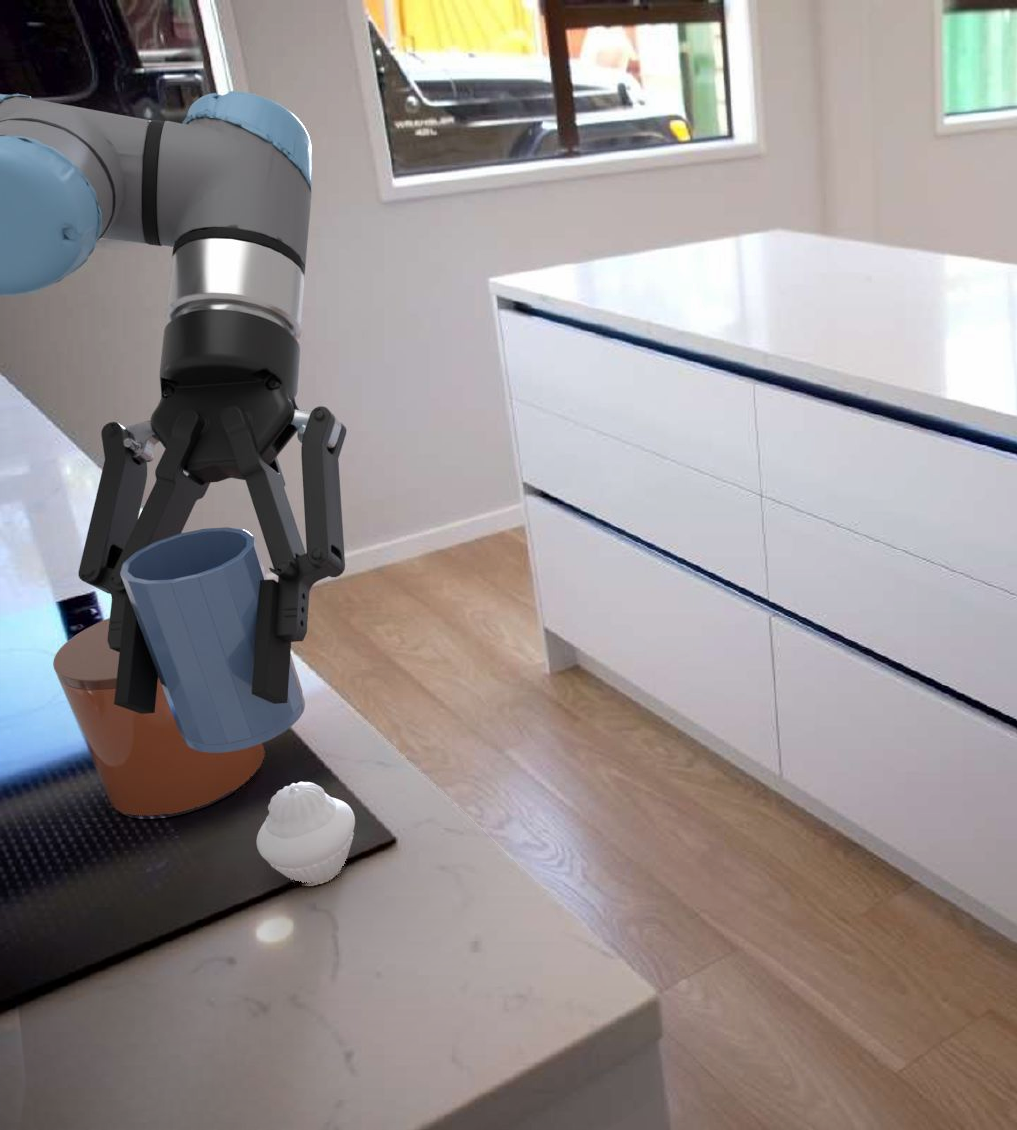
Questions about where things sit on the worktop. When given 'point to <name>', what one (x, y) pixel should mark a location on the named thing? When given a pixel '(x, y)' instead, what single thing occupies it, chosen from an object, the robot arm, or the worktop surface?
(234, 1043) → the worktop surface
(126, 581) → the cup
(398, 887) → the worktop surface
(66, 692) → the canister
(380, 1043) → the worktop surface
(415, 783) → the worktop surface
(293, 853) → the muffin
